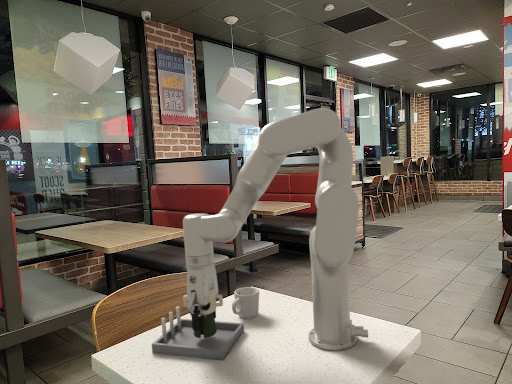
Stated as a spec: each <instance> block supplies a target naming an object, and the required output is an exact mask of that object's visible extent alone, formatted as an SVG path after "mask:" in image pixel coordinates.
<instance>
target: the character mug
mask: <svg viewBox="0 0 512 384" xmlns="http://www.w3.org/2000/svg"><path fill="white" fill-rule="evenodd" d="M182 298H183V299H182V300H183V306H184V307H185V308H187V305H188V295H187V294H185V295H183V297H182ZM217 299H218V301H219V302H217ZM195 304H199V302H198V300H197V298H196V301H195ZM223 306H224V299H223V294H219V293H218V294H216V292H215V287H214V288H213V289H212V290H210V291H209V303H208V304H207V305H206V306H203V310H202V315H203V317H204V330H203V331H196V330H194V336H195V337H197V338H201V335H204V338H208V337H211V336H213V335H215V333H216V332H217V329H216V323H215V321H216V320H215V319H216V318H215V319H214V314H213V312H214V311H215V310H217V307H223ZM195 309H197V310H198V311H199V306H195Z"/></svg>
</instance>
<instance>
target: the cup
mask: <svg viewBox="0 0 512 384" xmlns="http://www.w3.org/2000/svg"><path fill="white" fill-rule="evenodd" d="M233 293H234V294H233V295H234V300H233V302H232V304H231V309H232V314H234V315H238V317H240V318H243V319H252V318H255V317H256V316H258V314H259V309H260V308H259V306H260V304H259V303H260V290H259V288H257V287H253V286H246V287H245V286H244V287H239V288H236V289H235V291H233Z"/></svg>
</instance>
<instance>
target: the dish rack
mask: <svg viewBox="0 0 512 384" xmlns="http://www.w3.org/2000/svg"><path fill="white" fill-rule="evenodd" d="M175 311H176V312H175V313H176V322H175V323H174V313H173V311H169V312H168V318H169V328H168V330H167V324H166V323H167V322H166V317H161V329H162V330H161V332H162V335H160V336H158V338H157V339H156V340H154V341H153V342H152V343H151V352H152V354H156V355H166V356H172V357H173V356H174V357H184V358H192V359H203V360H211V361H220V362H223V361H225V359H226V358H227V356H228V355H229V354H230V352H231V351H232V350H233V348H234V347H235V345H237V343H238V341H239V339H241V337H242V336H243V334H244V332H245V325H244V323H242V322H229V321H219V320H218V321H216V320H215V323H216V329H217V332H216V333H215V335H213V336H211V337H208V338H204V335H201V338H197V337H195V336H194V330H193V329H192V318H191V319H190V318H181V307H180V306H179V305H178V306H176V307H175Z"/></svg>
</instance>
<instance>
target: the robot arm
mask: <svg viewBox="0 0 512 384" xmlns="http://www.w3.org/2000/svg"><path fill="white" fill-rule="evenodd" d="M341 123H342V122H341V119H340V117H339V115H338V114H337V113H336V111H334V110H332V109H329V108H326V107H320V108H319V107H318V108H313V109H311V110H307V111H305V112H302V113H299V114H298V113H297V114H296V115H292V116H289V117H286V118H282V119H279V120H274V121H272V122H270V123H267V124H266V125H264V127H262V128H261V130H260V133H259V135H258V140H257V141H256V143H255V144H254V146H253V148H252V150H251V152H250V154H249V155H248V157H247V158H246V161H245V162H244V163H243V165H242V167H241V168H240V170H239V172H238V173H237V177H236V180H235V183H234V187H233V189H232V191H231V193H230V194H229V196H228V198H227V199H226V201H225V203H224V205H223V207H222V208H221V210H220V211H219V212H218V213H217V214H214V215H210V214H208V213H205V212H204V213H203V212H202V213H199V212H198V213H191V214H187V215H185V216H184V217H183V218H182V219H183V220H182V227H183V228H182V230H183V242H184V243H183V245H184V255H185V268H187V270H186V272H187V274H186V293H187V294H186V295H188V298H187V303H188V305H187V307H186V309H187V311H188V312H189V314H190V317H191V319H192V329H193V330H196V331H203V330H204V317H203V315H202V310H203V306H206V305H207V304H208V303H209V291H210V290H212V289H213V288H214V287H215V292H216V294H219V285H218V275H217V269H216V266H215V254H214V243H217V242H218V243H229V242H231V241H234V239H236V237H237V235H238V234H239V233H240V232H239V231H240V230H241V229H242V227H243V225H244V223H245V221H246V220H247V218H248V217H249V215H250V213H251V212H252V210H253V209H254V207H255V205H256V204H257V202H258V201H259V199H260V198H261V197H262V196H263V195H264V194H265V192H266V190H267V189H268V188H269V186H270V184H271V182H272V181H273V180H274V177H275V176H276V174H277V173H278V171H279V170H280V168H281V166H282V164H283V163H284V161H285V159H286V158H287V156H288V155H291V154H295V153H299V152H303V151H307V150H309V149H313V148H316V149H317V152H318V155H319V157H318V158H319V166H318V177H317V184H316V186H317V187H316V192H315V198H314V202H315V206H316V208H317V209H316V222H315V226H314V227H313V228H312V229H311V232H310V234H309V239H308V240H309V241H308V242H309V243H308V244H309V256H310V268H311V271H310V272H311V289H312V290H311V291H312V309H313V310H312V311H313V313H312V314H313V328H312V329H311V330H310V331H309V333H308V340H309V341H308V342H310V344H312V345H313V346H314V347H316V348H320V349H323V350H326V351H327V350H328V351H340V350H342V351H343V350H347V349H349V348H351V347H353V346H355V344H356V343H357V342H358V340H357V339H358V337H360V338H369V329H364V328H365V327H364V325H355V324H353V320H352V319H351V309H350V291H349V288H350V287H349V282H350V280H349V266H348V265H349V264H348V262H349V261H350V259H351V258H352V256H353V254H354V250H355V245H356V237H357V230H358V229H357V228H358V222H359V221H358V219H359V211H360V209H359V207H360V206H359V205H360V204H359V198H358V195H357V193H356V191H355V190H354V189H353V187H352V183H353V182H352V181H353V169H354V151H353V147H352V144H351V141H350V139H349V137H348V135H347V133H346V132H345V130H344V129H343V128H342V125H341ZM196 298H197V300H198V302H199V304H195V301H196ZM195 306H199V311H198V310H197V309H195ZM216 310H217V309H216ZM216 310H215V311H214V312H213V314H214V319H216V318H217V313H216Z"/></svg>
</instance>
